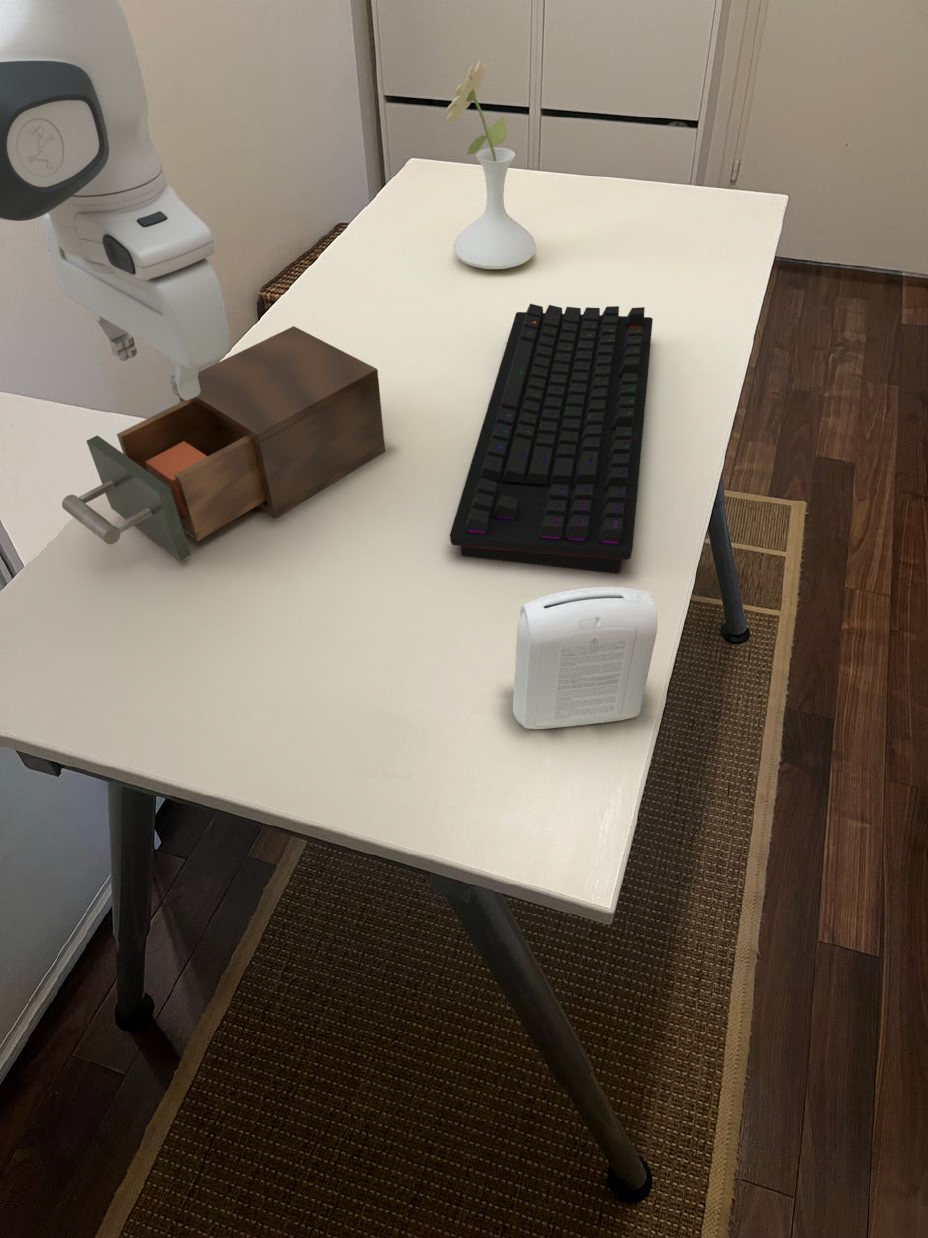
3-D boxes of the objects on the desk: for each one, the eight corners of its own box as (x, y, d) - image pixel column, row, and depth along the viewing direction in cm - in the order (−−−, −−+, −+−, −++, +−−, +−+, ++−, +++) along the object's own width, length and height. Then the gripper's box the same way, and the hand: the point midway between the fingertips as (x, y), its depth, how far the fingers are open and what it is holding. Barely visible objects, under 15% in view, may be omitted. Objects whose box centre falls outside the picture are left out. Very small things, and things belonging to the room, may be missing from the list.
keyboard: (515, 332, 114) (516, 293, 111) (649, 342, 112) (654, 303, 109) (449, 559, 86) (448, 517, 82) (627, 579, 83) (634, 537, 80)
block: (183, 518, 87) (172, 480, 84) (156, 498, 89) (144, 461, 86) (221, 496, 89) (212, 458, 86) (194, 477, 91) (184, 440, 88)
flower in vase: (494, 233, 134) (495, 36, 116) (552, 258, 128) (563, 53, 110) (428, 263, 128) (418, 59, 110) (486, 290, 122) (486, 79, 104)
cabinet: (275, 518, 90) (257, 434, 83) (197, 465, 96) (174, 382, 89) (385, 451, 97) (377, 368, 90) (306, 406, 104) (293, 325, 97)
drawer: (133, 590, 82) (107, 521, 76) (64, 533, 88) (35, 465, 82) (295, 492, 91) (282, 425, 86) (224, 446, 97) (208, 380, 91)
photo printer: (633, 679, 75) (653, 567, 66) (647, 721, 72) (670, 609, 63) (508, 694, 74) (511, 582, 65) (517, 737, 71) (522, 626, 62)
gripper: (4, 189, 74) (59, 347, 83) (152, 266, 64) (194, 435, 74) (75, 167, 77) (120, 321, 87) (226, 238, 67) (257, 403, 77)
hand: (155, 374), depth 80 cm, fingers open, 8 cm apart
